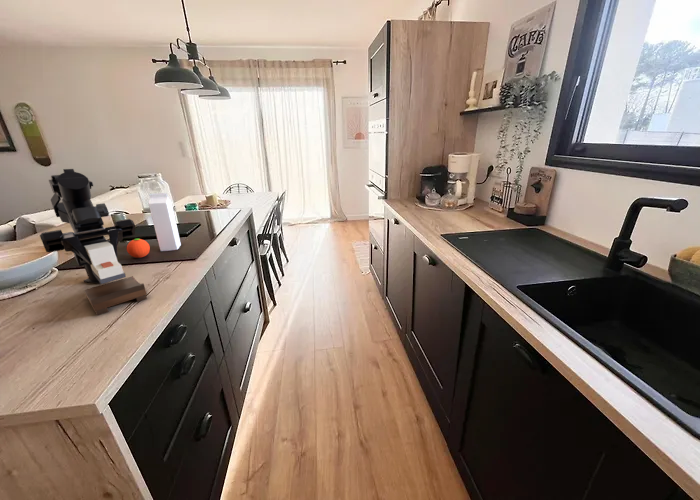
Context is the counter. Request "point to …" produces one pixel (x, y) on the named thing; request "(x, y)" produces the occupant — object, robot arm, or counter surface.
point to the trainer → (104, 262)
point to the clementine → (138, 248)
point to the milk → (164, 222)
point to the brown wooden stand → (115, 294)
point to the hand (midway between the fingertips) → (104, 260)
